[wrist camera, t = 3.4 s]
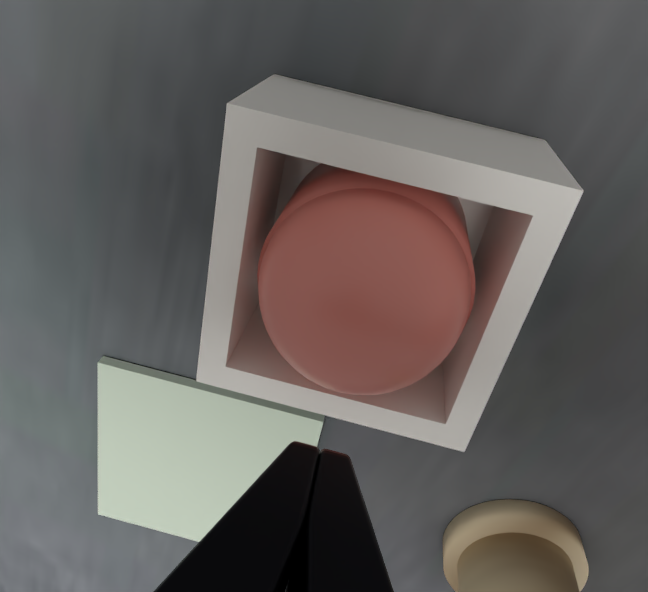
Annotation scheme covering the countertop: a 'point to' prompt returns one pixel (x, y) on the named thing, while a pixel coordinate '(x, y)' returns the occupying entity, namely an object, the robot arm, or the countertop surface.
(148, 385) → the pad
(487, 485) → the countertop surface
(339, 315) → the pink rounded piece
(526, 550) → the pawn
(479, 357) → the housing
